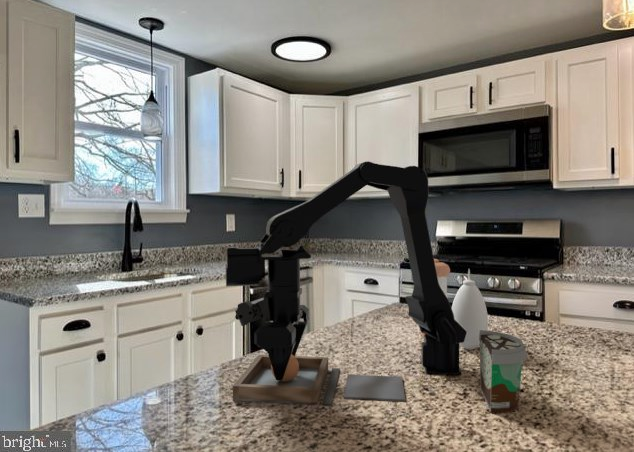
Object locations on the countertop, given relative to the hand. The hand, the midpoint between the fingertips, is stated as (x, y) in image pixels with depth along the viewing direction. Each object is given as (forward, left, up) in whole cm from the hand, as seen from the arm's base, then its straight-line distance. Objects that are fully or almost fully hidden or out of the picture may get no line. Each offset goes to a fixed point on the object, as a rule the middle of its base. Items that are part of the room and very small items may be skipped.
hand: (284, 370), depth 78 cm
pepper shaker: (-31, -35, -3) cm, 47 cm away
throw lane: (-7, 0, -2) cm, 7 cm away
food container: (-37, +3, -3) cm, 37 cm away
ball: (0, 0, 0) cm, 1 cm away
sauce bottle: (-37, -25, -3) cm, 45 cm away
